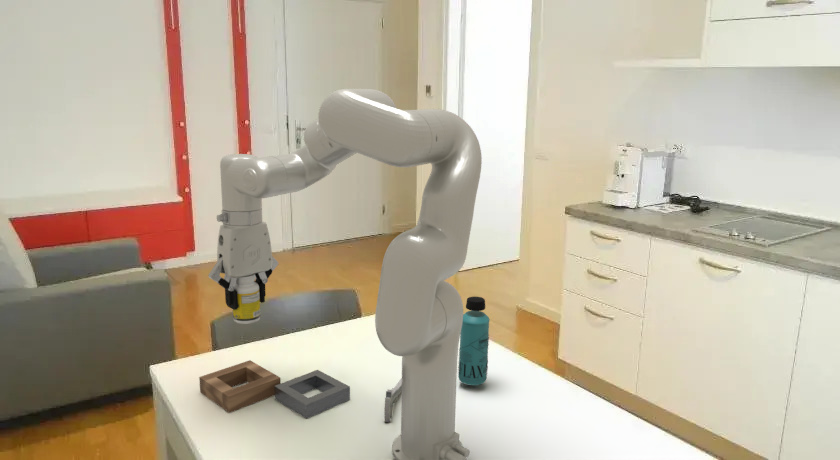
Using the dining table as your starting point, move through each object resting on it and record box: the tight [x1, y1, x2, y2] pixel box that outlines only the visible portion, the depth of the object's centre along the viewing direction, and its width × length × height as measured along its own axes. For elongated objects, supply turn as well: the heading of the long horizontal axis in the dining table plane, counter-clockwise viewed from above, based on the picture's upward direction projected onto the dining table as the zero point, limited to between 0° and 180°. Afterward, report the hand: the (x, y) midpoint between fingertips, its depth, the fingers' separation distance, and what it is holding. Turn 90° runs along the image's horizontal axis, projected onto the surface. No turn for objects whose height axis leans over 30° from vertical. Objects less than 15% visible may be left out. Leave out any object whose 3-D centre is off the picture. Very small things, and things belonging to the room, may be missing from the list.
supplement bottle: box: [232, 274, 261, 325], centre depth 127 cm, size 5×5×10 cm
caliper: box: [383, 377, 402, 423], centre depth 130 cm, size 20×1×6 cm, turn 170°
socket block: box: [274, 369, 351, 420], centre depth 129 cm, size 11×11×3 cm
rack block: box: [198, 359, 282, 414], centre depth 131 cm, size 12×12×4 cm
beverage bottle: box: [457, 296, 491, 386], centre depth 135 cm, size 6×7×20 cm
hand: (246, 303), depth 127 cm, fingers closed on supplement bottle, 5 cm apart
